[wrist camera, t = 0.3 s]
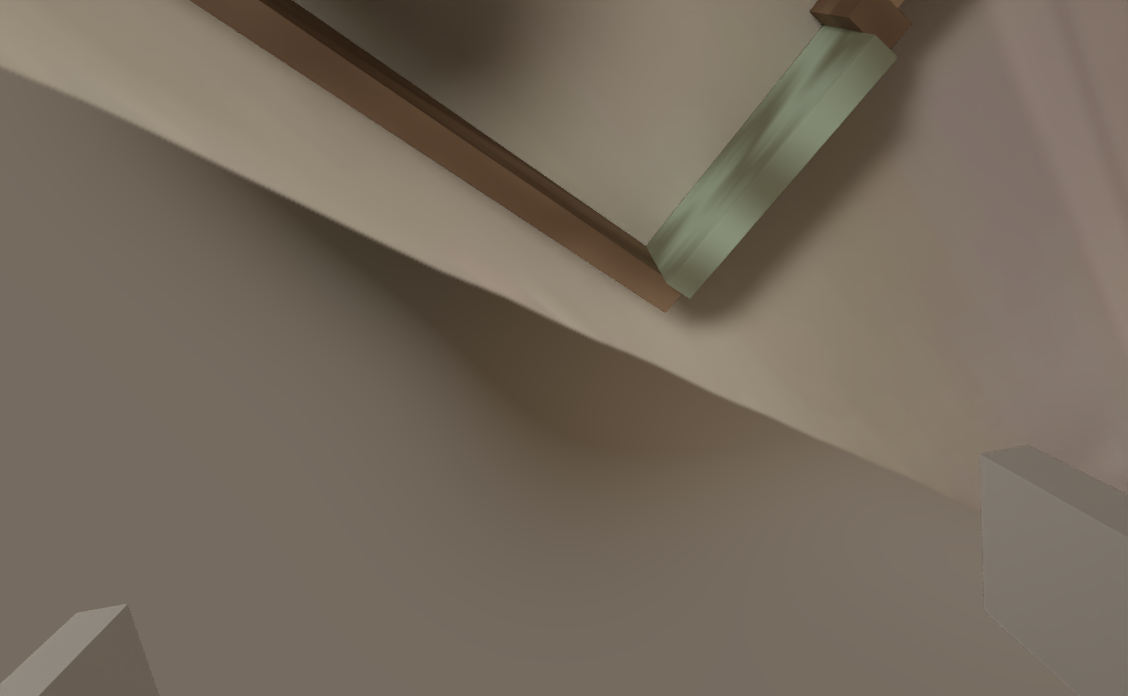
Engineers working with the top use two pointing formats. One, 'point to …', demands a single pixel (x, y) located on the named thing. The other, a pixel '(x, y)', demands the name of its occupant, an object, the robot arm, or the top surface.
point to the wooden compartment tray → (654, 272)
